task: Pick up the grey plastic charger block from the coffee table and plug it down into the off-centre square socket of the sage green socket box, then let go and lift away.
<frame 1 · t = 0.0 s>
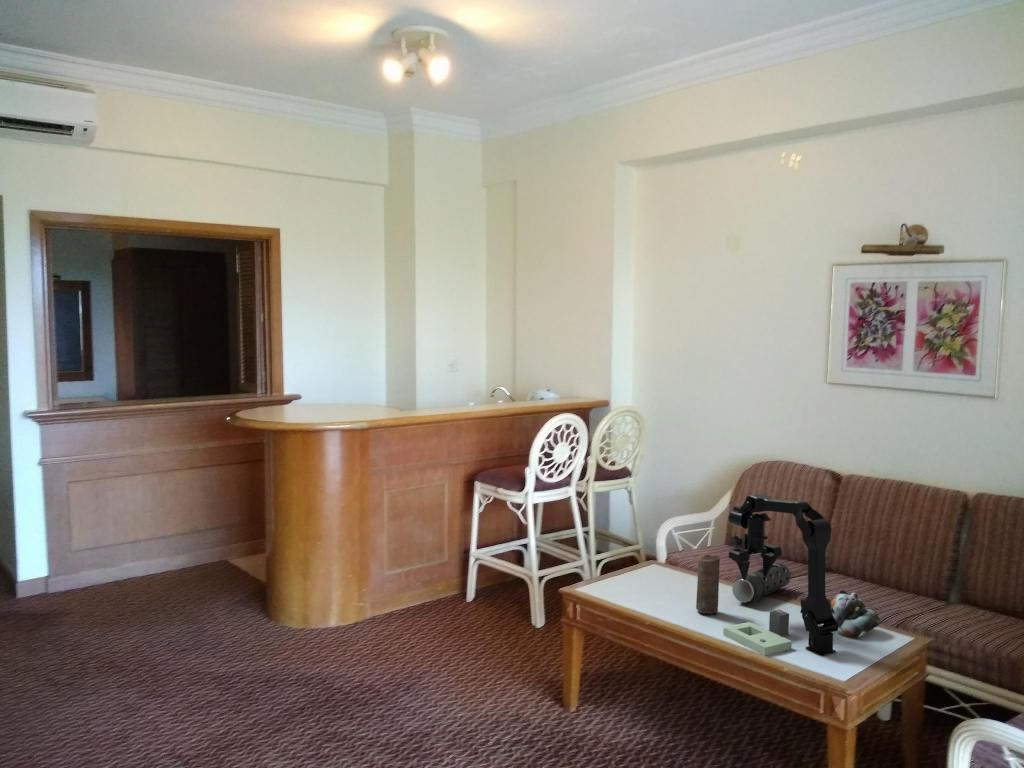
hand: (754, 577, 268), 15 cm above the table, tool pointing down, fingers open, 9 cm apart
brown cylinder: (707, 613, 277), on the table
lucky cat figurine: (851, 632, 261), on the table
muzzle brake: (761, 598, 293), on the table
charger block: (778, 633, 258), on the table
socket box: (756, 641, 251), on the table
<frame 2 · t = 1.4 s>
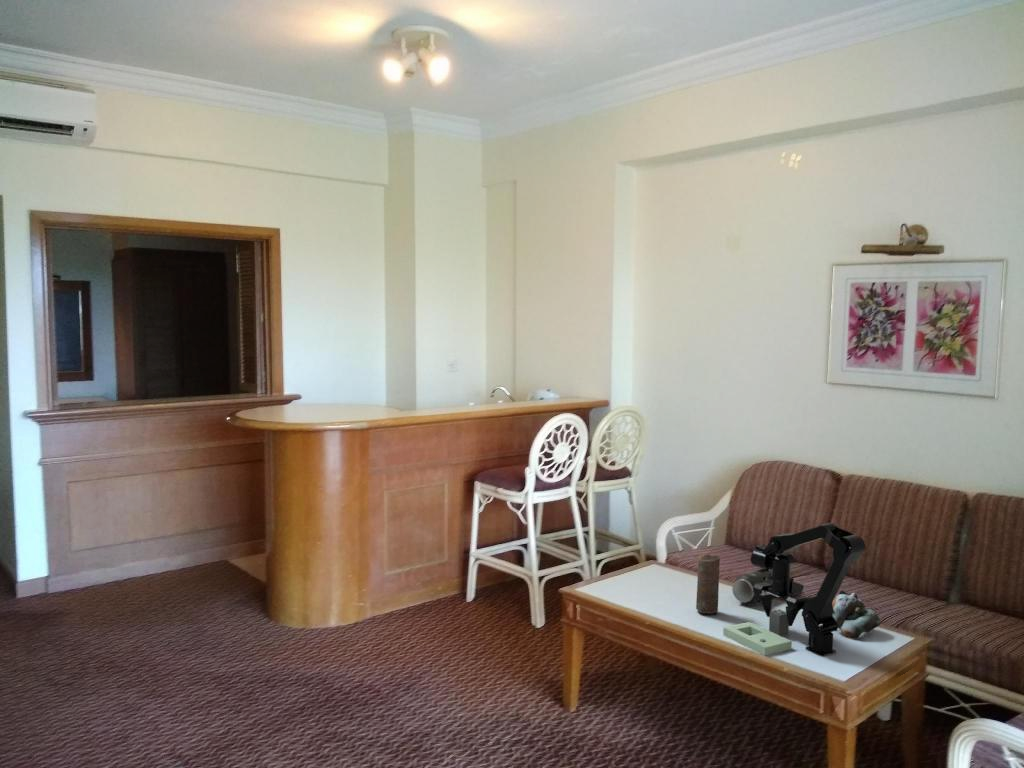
hand: (779, 621, 258), 4 cm above the table, tool pointing down, fingers open, 9 cm apart
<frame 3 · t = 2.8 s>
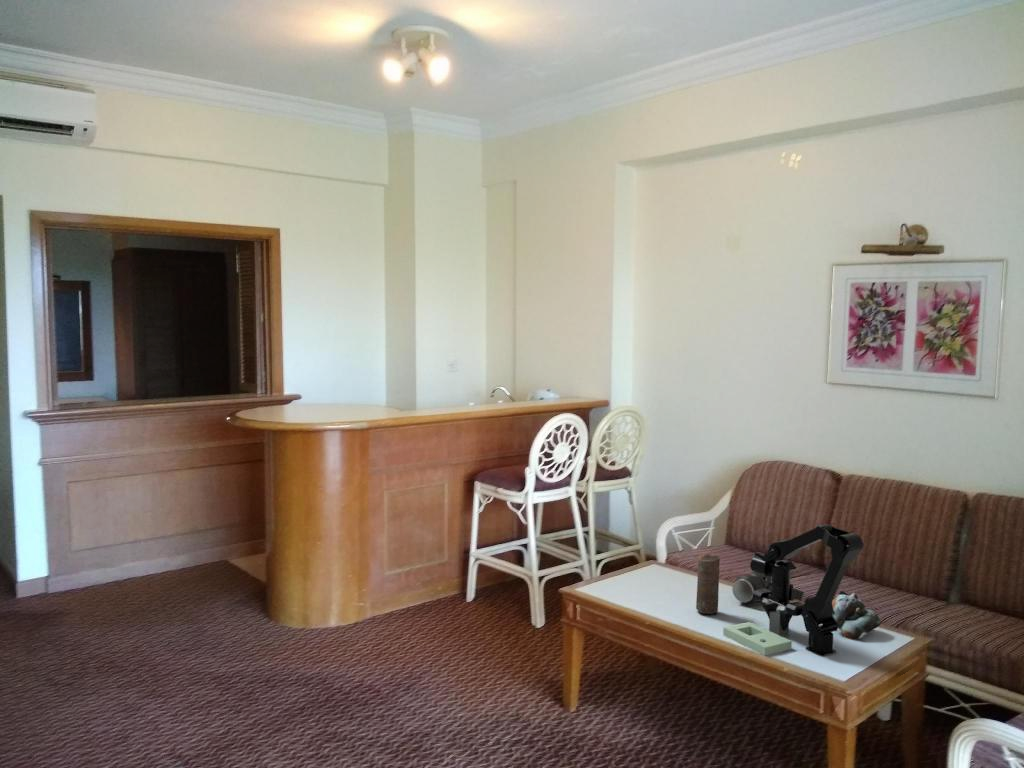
hand: (778, 627, 258), 2 cm above the table, tool pointing down, fingers closed on charger block, 4 cm apart
charger block: (778, 633, 258), on the table, touching gripper
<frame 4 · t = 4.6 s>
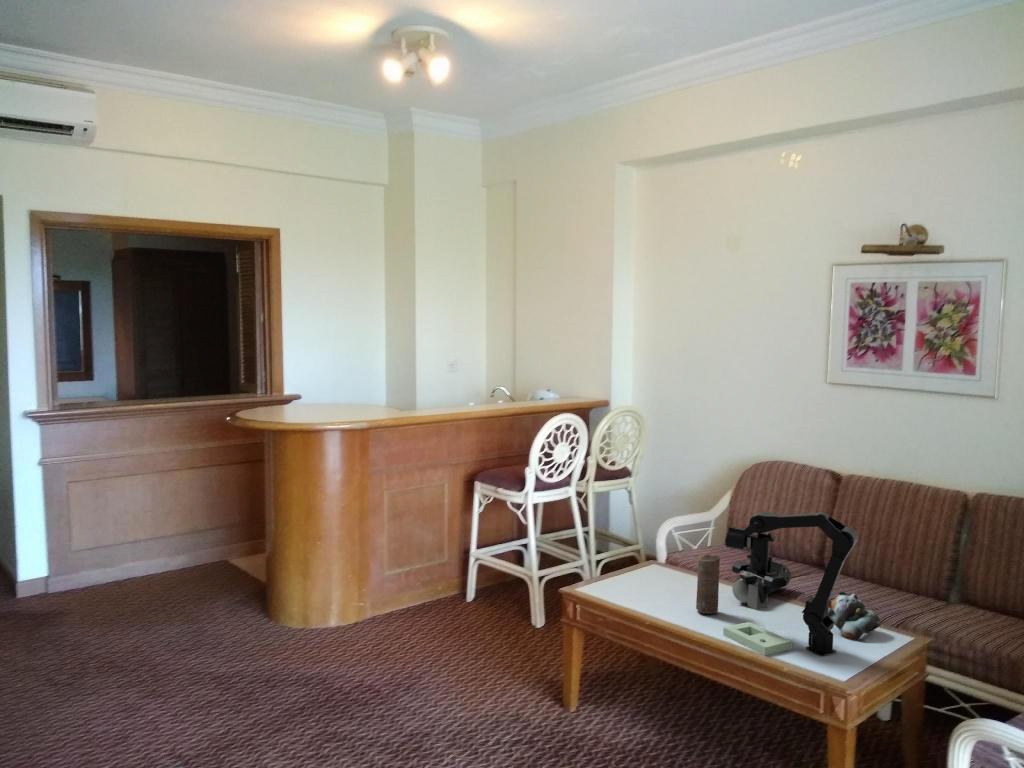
hand: (757, 600, 254), 12 cm above the table, tool pointing down, fingers closed on charger block, 4 cm apart
charger block: (757, 606, 254), point 10 cm above the table, touching gripper
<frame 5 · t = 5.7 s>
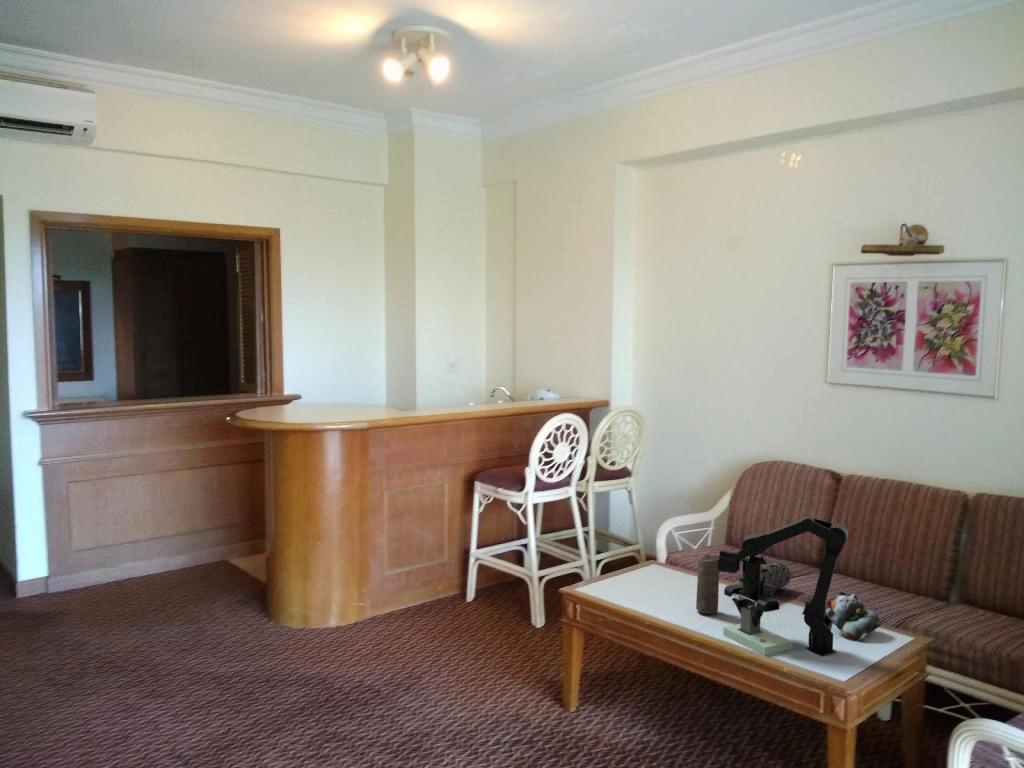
hand: (750, 624, 253), 5 cm above the table, tool pointing down, fingers closed on charger block, 4 cm apart
charger block: (750, 630, 253), point 3 cm above the table, touching gripper
when the fingers open (3 cm above the table, at t = 6.6 s): charger block drops 2 cm, resting in socket box.
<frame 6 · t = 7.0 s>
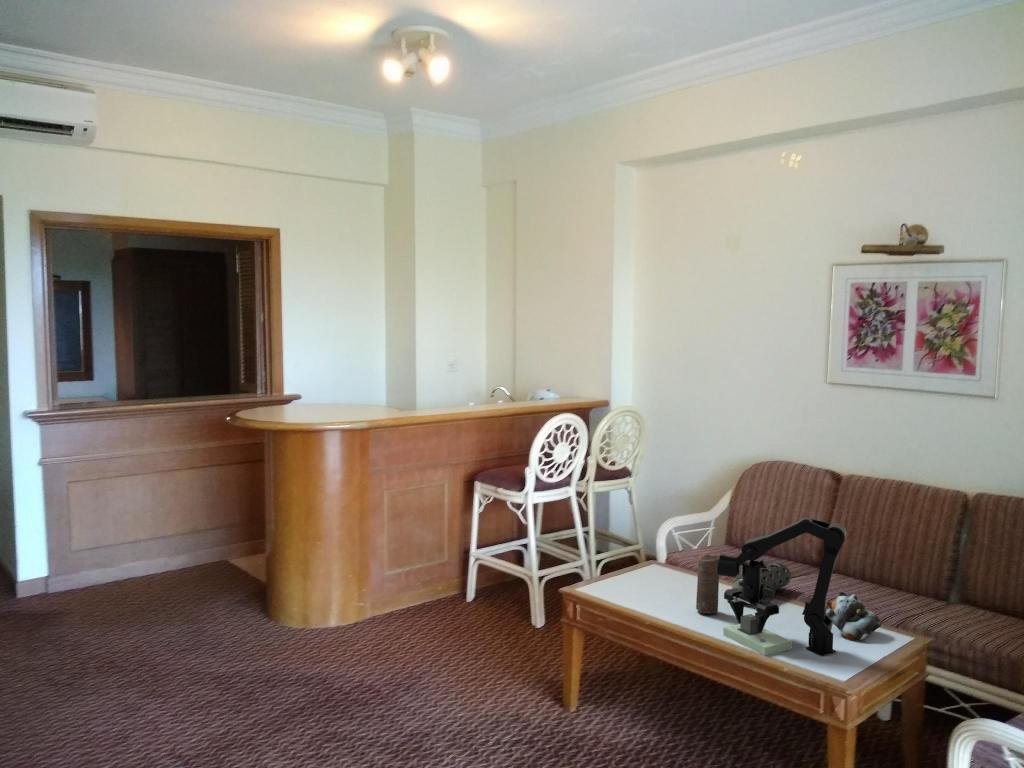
hand: (750, 628, 253), 3 cm above the table, tool pointing down, fingers open, 8 cm apart
charger block: (749, 638, 254), resting in socket box
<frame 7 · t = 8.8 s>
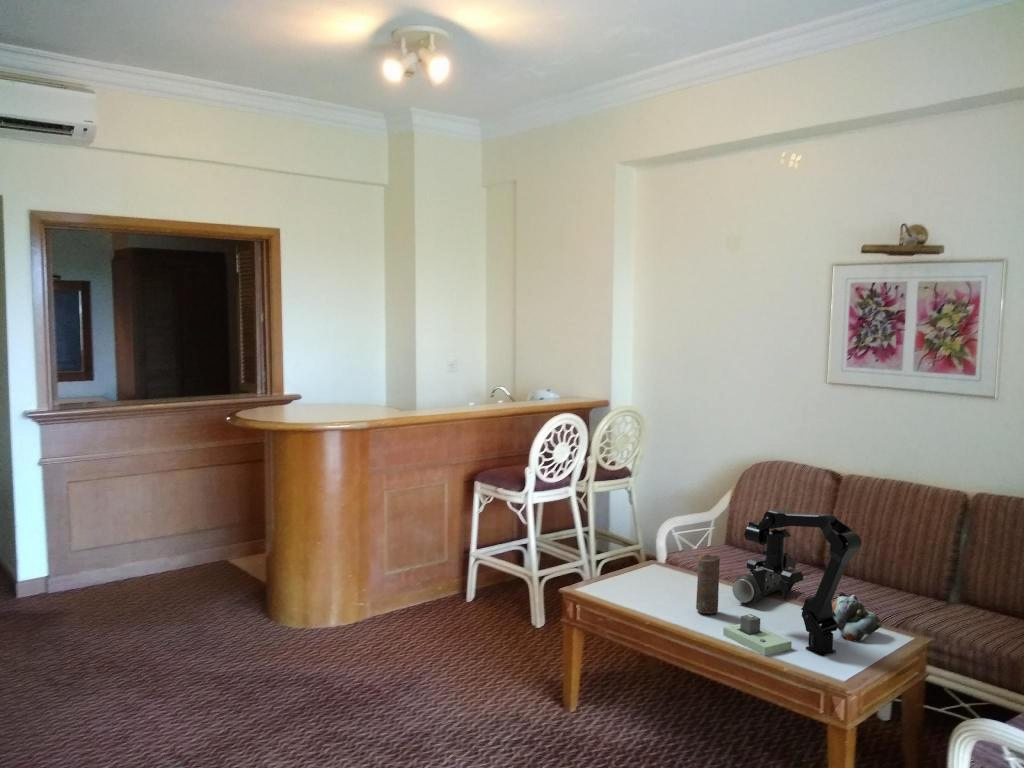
hand: (773, 596, 258), 12 cm above the table, tool pointing down, fingers open, 9 cm apart
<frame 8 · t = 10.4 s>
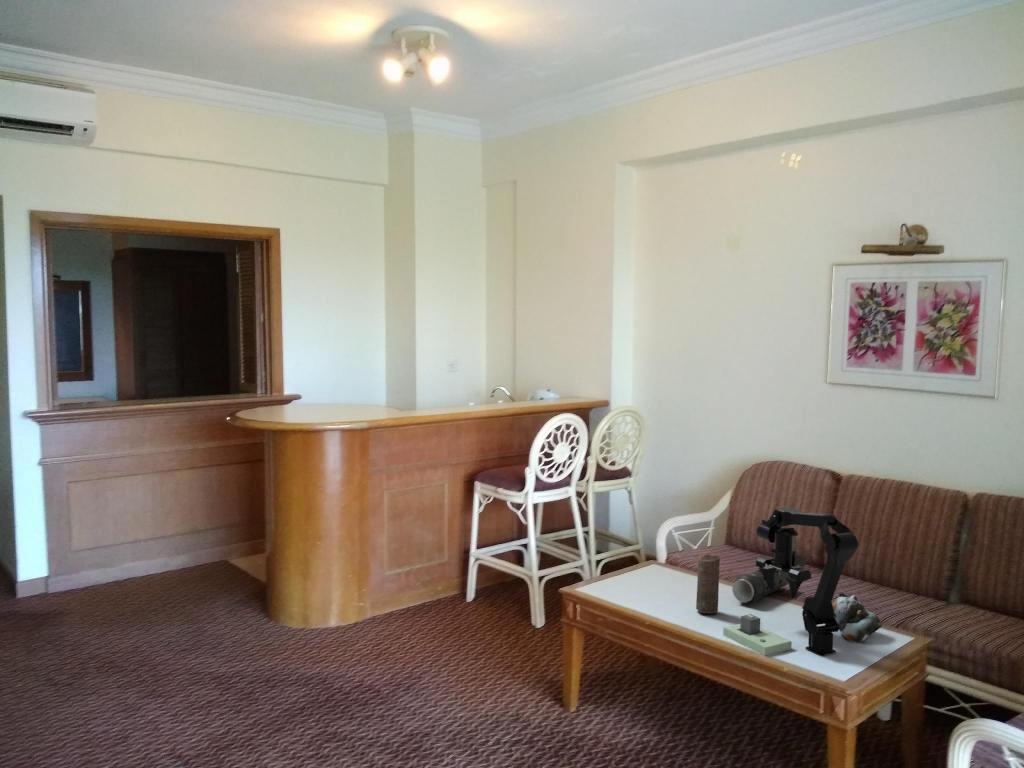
hand: (782, 594, 260), 12 cm above the table, tool pointing down, fingers open, 9 cm apart
at the end: charger block 0.1 cm from the target spot on the socket box, point 0.0 cm above the socket box's base; charger block tilted 0°; the gripper is holding nothing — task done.
